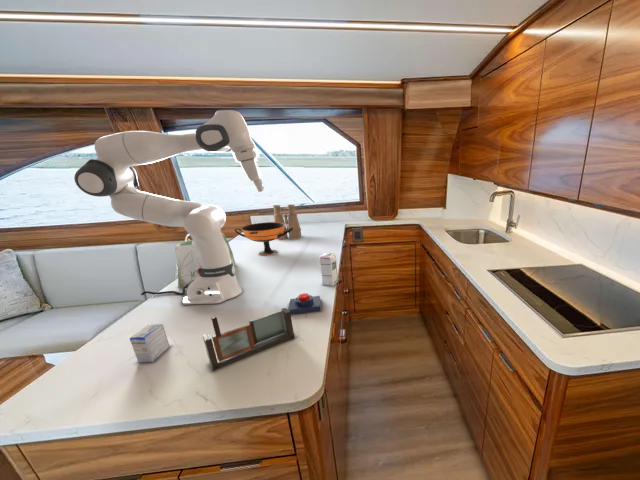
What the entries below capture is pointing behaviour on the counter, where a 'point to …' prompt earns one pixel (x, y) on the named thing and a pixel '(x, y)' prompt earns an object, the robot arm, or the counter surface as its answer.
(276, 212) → the binoculars
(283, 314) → the window frame
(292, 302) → the button box
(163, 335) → the medicine box
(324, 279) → the syrup box
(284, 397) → the counter surface
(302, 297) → the button
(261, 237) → the cup
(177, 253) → the grocery bag
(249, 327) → the sash
